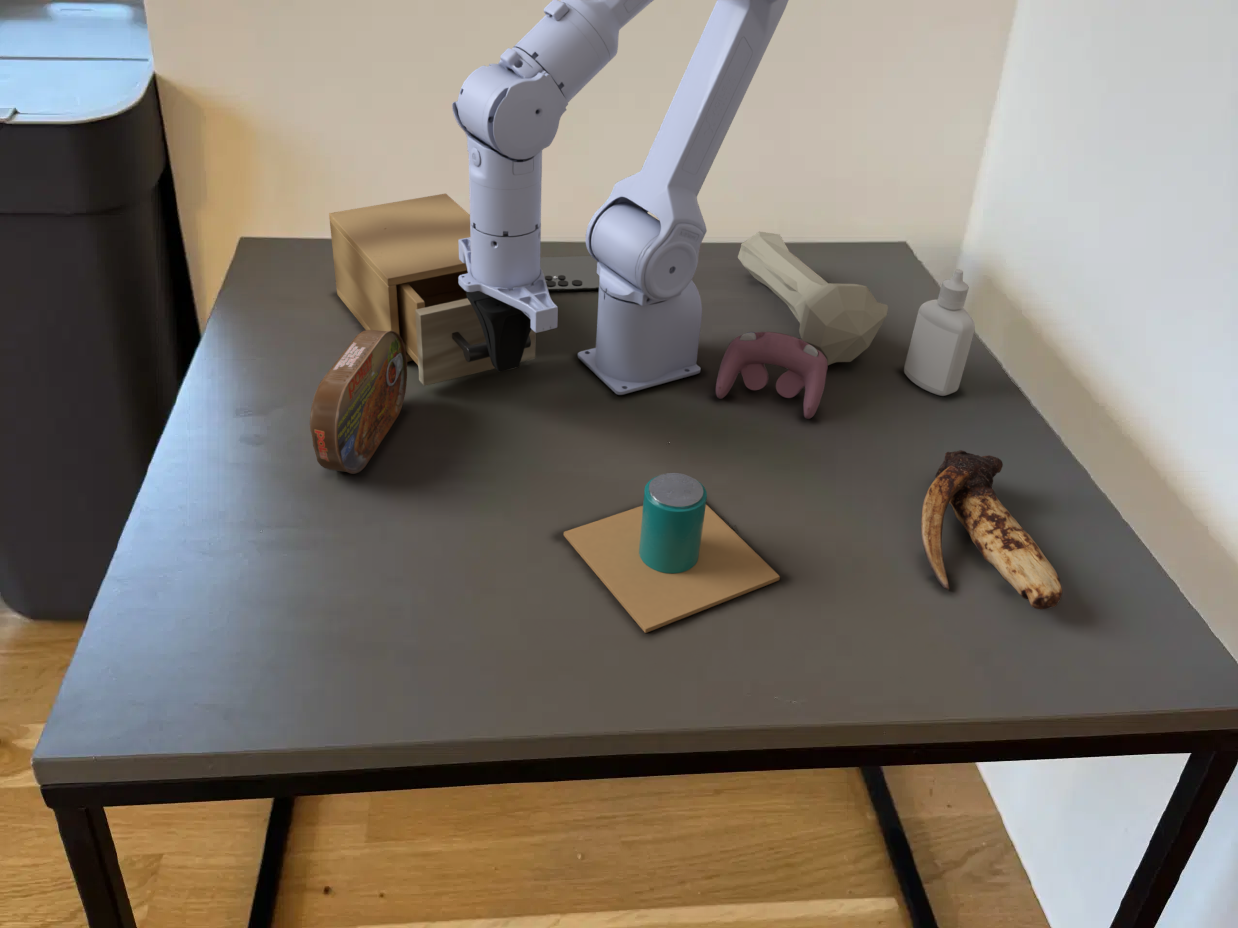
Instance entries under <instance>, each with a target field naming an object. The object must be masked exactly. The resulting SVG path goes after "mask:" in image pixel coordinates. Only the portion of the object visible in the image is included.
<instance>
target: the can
mask: <svg viewBox="0 0 1238 928" xmlns="http://www.w3.org/2000/svg"><path fill="white" fill-rule="evenodd" d="M643 493H644V494H643V503H642V506H643V512H642V522H641V533H640V544H639V555H640V558H641V560H642V561H643V562H644V563H645V564H646V565H647V566H648V567H650V568H651V569H653V570H656V571H659V572H663V573H672V574H673V573H681V572H685V571H687V570H689V569H691V568H692V567H693V566H694V565H695V564H696V563H697V561H698V558H699V552H700V545H701V537H702V530H703V522H704V515H705V507H706V505H707V498H708V492H707V490H706V488H705V486H704V485H703V483H702V482H700V481H699V480H698V479H696V478H694V477H692V476H690V475H688V474H685V473H681V472H680V473H679V472H666V473H662V474H659V475H656V476H654V477H652V478H651V479H650V480H649V481H648V482H646V484H645V486H644V492H643Z"/></svg>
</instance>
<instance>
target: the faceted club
mask: <svg viewBox="0 0 1238 928" xmlns="http://www.w3.org/2000/svg"><path fill="white" fill-rule="evenodd" d="M737 258H738V260H739V261H740V262H741V264H742V266H743V268H744V269H745V270H747V271H748V273H749V274H750V275H751V276H752V277H753V278H754V279H755V280H757V281H758V282H760V283H761V284H763V285H764V286H766V287H767V288H768V289H769V290H770V291H771V292H772V293H774V294H775V295H776V297H778V298H779V299H780V300H781V301H782V302H783V303H785V305H786V306H787V307H788V308H789V310H790V311H791V312H792V314H793V316H794V317H795V318H796V320H797V321H798V323H799V329H798V333H799V336H800V340H803V341H804V342H806V343H808V344H810V345H811V346H813V347H814V348H815V349H817V350H819V351H820V352H821V353H822V354H823V355H824V356H825V358H826V360H827V364H828V366H830V365H833V364H835V363H851V362H853V361H854V360H856V358H857V357H858V356H860V355H861V354H862V353H863V352H864V351H866V350H867V349H868V348H869V347H870V346H871V344H872V342H873V341H874V338H875V337H876V335H877V334H878V332H879V330H880V328H881V326H882V324H883V323H884V321H885V319H886V317H887V315H888V309H889V305H887V304H885V303H883V302H880V301H877V300H876V298H875V297H874V295H873V293H872V292H871V290H870V289H869V287H868V286H867V285H862V284H859V283H833V282H831V283H828V282H827V281H826V280H825V279H824V278H822V277H821V276H820V275H819V274H817V273H816V272H815V271H814V270H813V269H812V268H810V267H809V266H807V264H805V263H804V262H803V261H802V260H801V259H800V258H799V257H797V255H795V254H794V253H793V252H791V251H790V250H789V248H788V246H787V244H786V243H785V241H784V239H783V238H782V236H781V234H780V233H775V232H774V233H773V232H765V231H757V232H756V233H755V234H753V235H752V236H750V237H749V238H747V239H746V240H744V241H743V242H742V243H741V245H740V248H739V252H738V255H737Z"/></svg>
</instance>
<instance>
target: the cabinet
mask: <svg viewBox="0 0 1238 928" xmlns="http://www.w3.org/2000/svg"><path fill="white" fill-rule="evenodd" d="M328 219H329V228H330V238H331V246H332V248H331V249H332V257H333V266H334V276H335V277H334V278H335V283H336V284H335V287H336V295H337V296H338V297H339V299H340V300H341V301H342V303H344V305H345V306H346V307H347V309H348V310H349V311H350V312H351V314H352V315H353V316H354V317H355V318H356V320H357V321H358V322H359V323H360V325H361V326H362V328H363V329H364V331H365V330H378V331H395V332H397V333H398V334H399V320H398V305H397V290H396V285H397V284H402V283H407V282H412V281H417V280H422V279H427V278H432V277H436V276H441V275H446V274H451V273H456V272H461V271H466V270H467V266H466V264H465V263H463V262H462V261H461V260H459V242H458V240H459V239H464V238H469V237H471V236H470V213H469V212H467V211H466V210H465V209H464V208H463V207H462V206H461V205H459V204H458V203H457V202H456V201H455V200H454V199H453V198H451V196H449V195H448V194H447V192H446V193H440V194H435V195H429V196H421V197H418V198H416V197H415V198H410V199H405V200H404V199H403V200H399V201H393V202H386V203H381V204H375V205H369V206H363V207H357V208H353V209H352V208H351V209H346V210H339V211H334V212H329V213H328ZM399 335H400V334H399ZM405 351H406V350H405ZM406 357H407V363H408V362H412V361H413V362H414V360H413V359H412V358H411V356H410V355H409V354H408V353H407V352H406Z"/></svg>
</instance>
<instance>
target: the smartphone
mask: <svg viewBox="0 0 1238 928" xmlns="http://www.w3.org/2000/svg"><path fill="white" fill-rule="evenodd" d="M540 268H541V269H542V272H543V275H544V278H545V282H546V285H547V288H548V291H549V292H568V291H570V292H571V291H599V283H600V282H599V280H600V276H599V275H598V274H597V261H596V260H595V259H594V258H592V256H591V255H580V256H579V255H578V256H576V255H575V256H540Z"/></svg>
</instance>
